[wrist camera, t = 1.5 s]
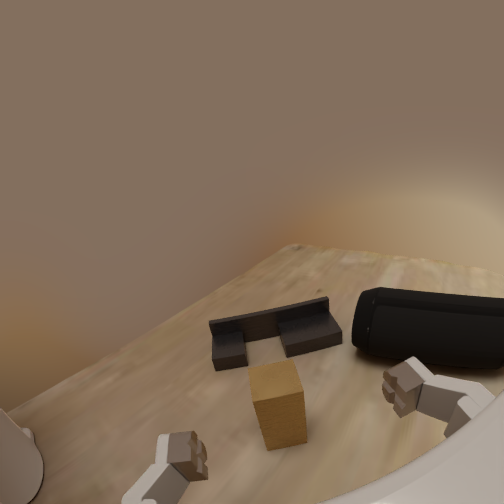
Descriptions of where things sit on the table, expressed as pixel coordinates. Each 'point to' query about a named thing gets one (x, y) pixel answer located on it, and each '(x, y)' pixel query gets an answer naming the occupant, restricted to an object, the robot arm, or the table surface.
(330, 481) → the table surface
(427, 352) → the portable speaker
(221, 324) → the rail
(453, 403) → the robot arm
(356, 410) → the table surface
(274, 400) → the wooden block
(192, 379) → the table surface
